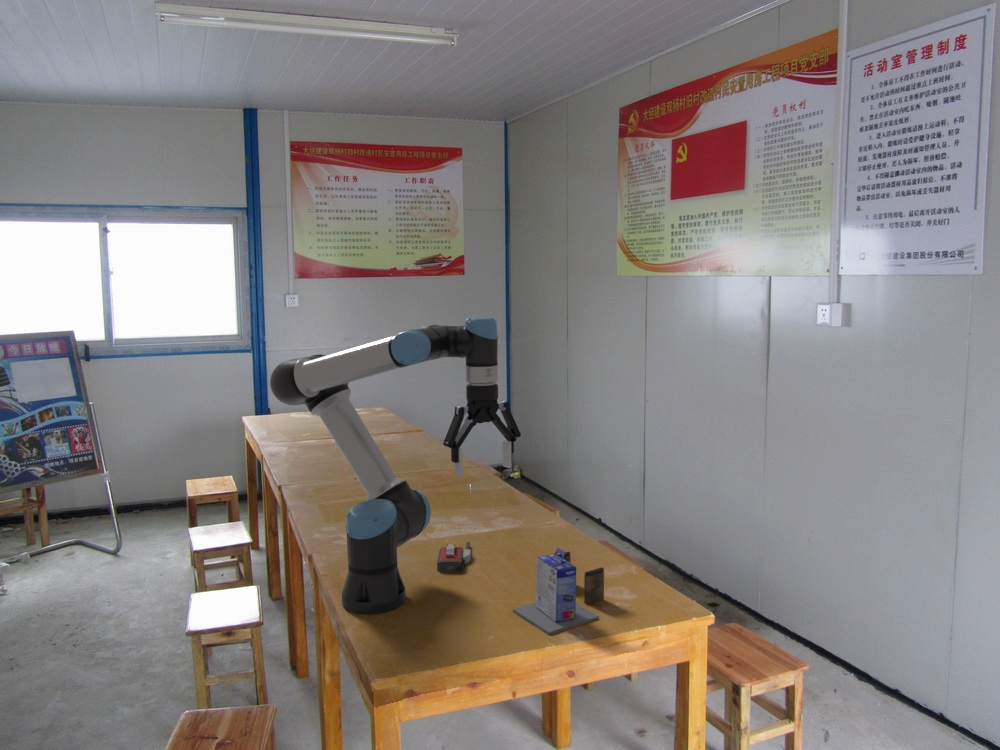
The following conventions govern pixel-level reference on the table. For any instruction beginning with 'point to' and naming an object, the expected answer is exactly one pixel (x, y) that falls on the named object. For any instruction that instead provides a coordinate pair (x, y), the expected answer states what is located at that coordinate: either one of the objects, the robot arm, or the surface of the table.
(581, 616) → the grey mat
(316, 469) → the table surface
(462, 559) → the walkie-talkie
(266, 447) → the table surface
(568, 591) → the ink cartridge box
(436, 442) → the table surface
